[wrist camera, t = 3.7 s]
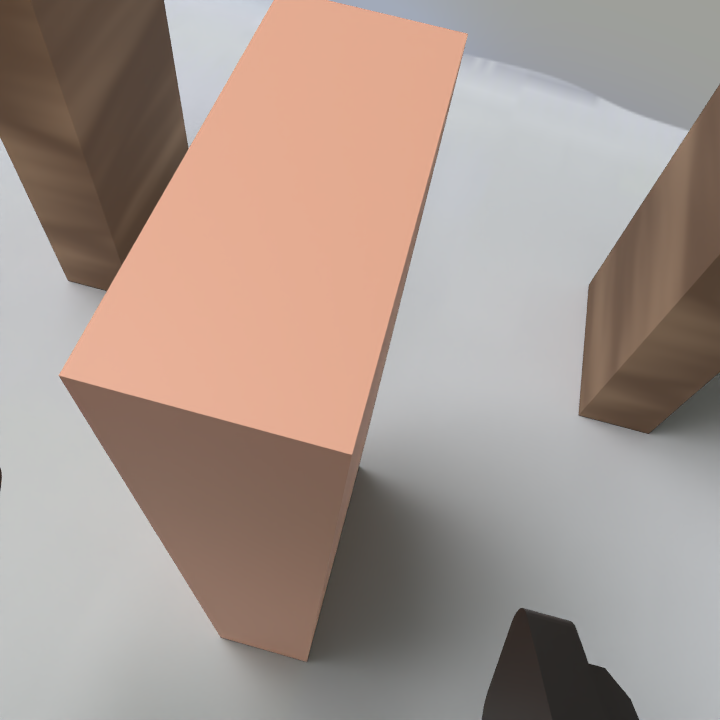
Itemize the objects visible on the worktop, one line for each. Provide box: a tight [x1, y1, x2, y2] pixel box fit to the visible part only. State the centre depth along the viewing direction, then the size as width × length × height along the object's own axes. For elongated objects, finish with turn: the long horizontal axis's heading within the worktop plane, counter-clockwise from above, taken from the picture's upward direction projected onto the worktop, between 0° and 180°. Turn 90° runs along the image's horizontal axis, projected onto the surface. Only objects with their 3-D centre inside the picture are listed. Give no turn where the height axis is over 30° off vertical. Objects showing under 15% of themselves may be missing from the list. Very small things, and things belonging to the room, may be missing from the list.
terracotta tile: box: [59, 0, 468, 662], centre depth 13 cm, size 2×6×15 cm, turn 166°
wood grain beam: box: [0, 0, 188, 291], centre depth 19 cm, size 2×6×15 cm, turn 166°
